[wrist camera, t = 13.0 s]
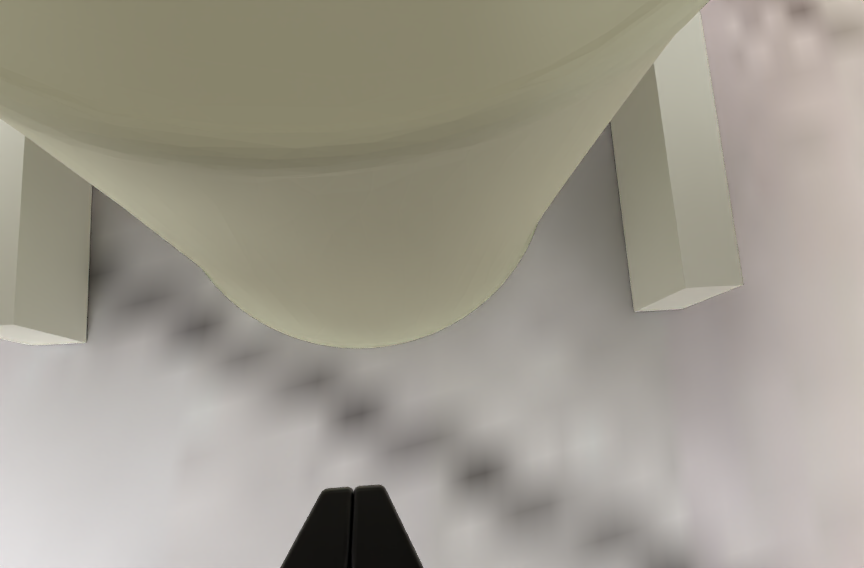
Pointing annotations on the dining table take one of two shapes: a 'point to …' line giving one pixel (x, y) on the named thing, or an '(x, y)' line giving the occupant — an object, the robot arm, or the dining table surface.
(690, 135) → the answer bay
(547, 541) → the dining table surface
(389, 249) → the can
